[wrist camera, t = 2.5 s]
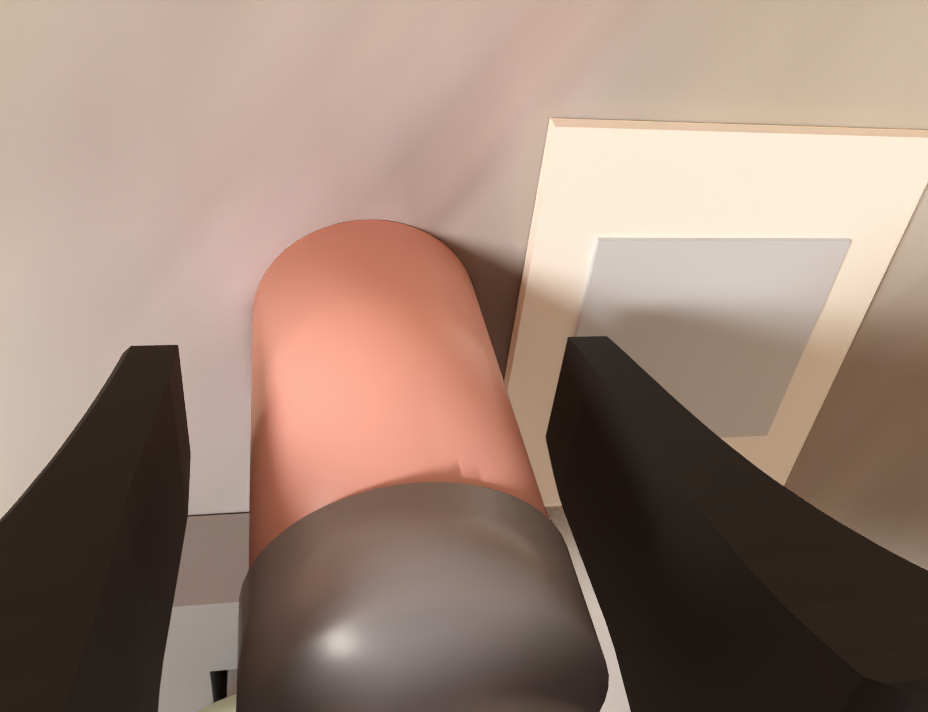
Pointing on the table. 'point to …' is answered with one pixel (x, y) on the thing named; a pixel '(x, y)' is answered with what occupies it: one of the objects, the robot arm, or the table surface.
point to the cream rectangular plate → (710, 267)
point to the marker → (396, 499)
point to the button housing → (205, 613)
